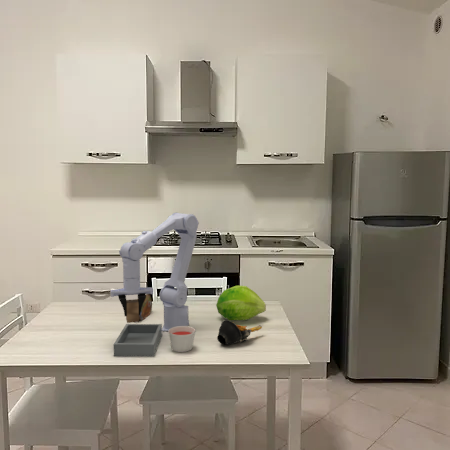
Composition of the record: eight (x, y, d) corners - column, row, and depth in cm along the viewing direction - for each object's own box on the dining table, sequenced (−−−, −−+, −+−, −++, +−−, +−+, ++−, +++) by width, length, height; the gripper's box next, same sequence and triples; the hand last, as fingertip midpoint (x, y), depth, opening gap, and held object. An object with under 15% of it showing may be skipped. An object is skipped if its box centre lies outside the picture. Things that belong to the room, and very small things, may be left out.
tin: (139, 323, 186) (139, 302, 185) (132, 322, 187) (131, 301, 186) (152, 311, 201) (152, 292, 200) (145, 311, 201) (145, 292, 200)
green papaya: (265, 326, 182) (266, 292, 181) (213, 324, 184) (214, 290, 182) (265, 314, 198) (266, 282, 196) (217, 313, 199) (218, 281, 198)
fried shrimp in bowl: (207, 330, 164) (237, 304, 176) (222, 357, 165) (252, 329, 177) (223, 327, 157) (254, 299, 169) (239, 355, 158) (269, 326, 170)
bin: (161, 334, 173) (161, 324, 172) (153, 356, 153) (153, 344, 152) (126, 334, 173) (126, 323, 172) (113, 356, 153) (113, 344, 152)
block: (137, 318, 168) (137, 299, 167) (138, 321, 164) (138, 302, 163) (126, 319, 167) (125, 300, 166) (127, 322, 163) (126, 303, 162)
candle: (191, 342, 166) (191, 324, 165) (198, 351, 157) (198, 333, 156) (166, 345, 163) (166, 327, 162) (171, 355, 154) (171, 336, 154)
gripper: (151, 273, 170) (151, 310, 171) (109, 275, 166) (110, 313, 167) (153, 277, 163) (154, 315, 164) (110, 280, 159) (111, 319, 160)
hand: (132, 315), depth 165 cm, fingers closed on block, 4 cm apart
